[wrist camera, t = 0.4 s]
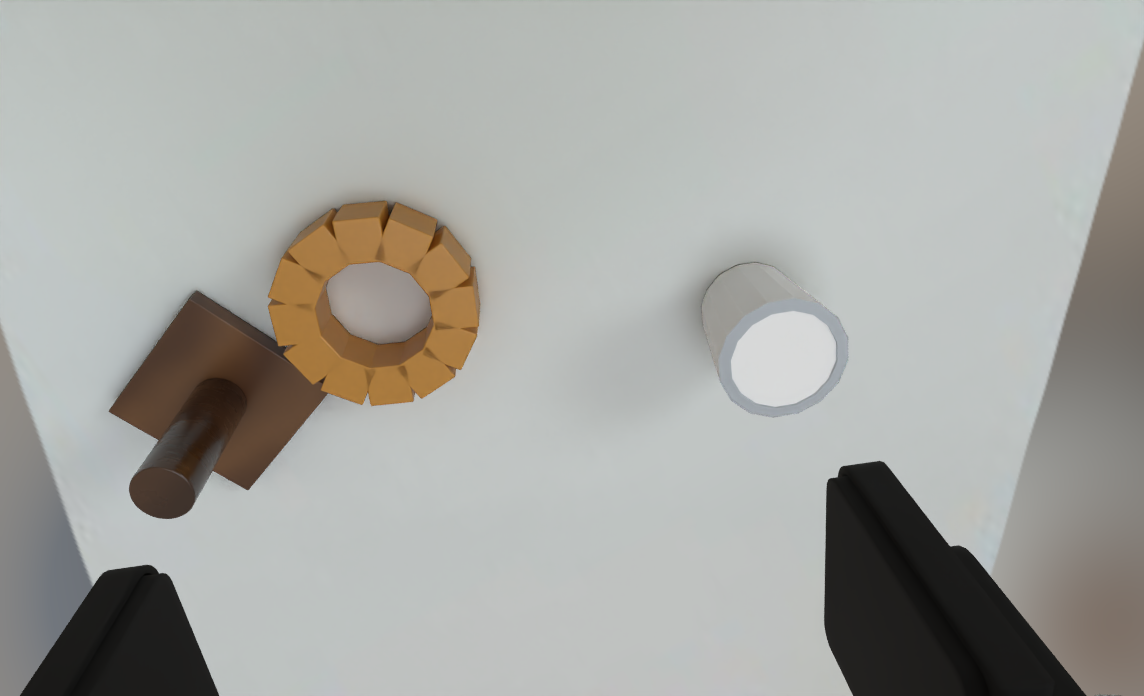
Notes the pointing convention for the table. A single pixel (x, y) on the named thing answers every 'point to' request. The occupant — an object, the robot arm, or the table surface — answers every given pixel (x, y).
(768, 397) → the grey cylinder
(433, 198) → the table surface
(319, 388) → the post
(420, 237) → the ring
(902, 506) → the robot arm
